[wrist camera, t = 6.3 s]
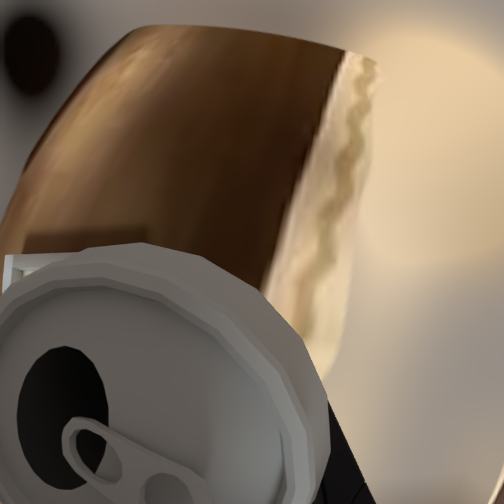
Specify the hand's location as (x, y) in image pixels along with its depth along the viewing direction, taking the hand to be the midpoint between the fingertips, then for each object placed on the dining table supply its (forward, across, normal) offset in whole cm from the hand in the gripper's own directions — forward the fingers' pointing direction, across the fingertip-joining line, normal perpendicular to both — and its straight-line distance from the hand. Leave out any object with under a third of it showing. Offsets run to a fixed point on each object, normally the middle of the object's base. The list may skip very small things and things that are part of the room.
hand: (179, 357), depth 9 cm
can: (+4, 0, +6) cm, 7 cm away
